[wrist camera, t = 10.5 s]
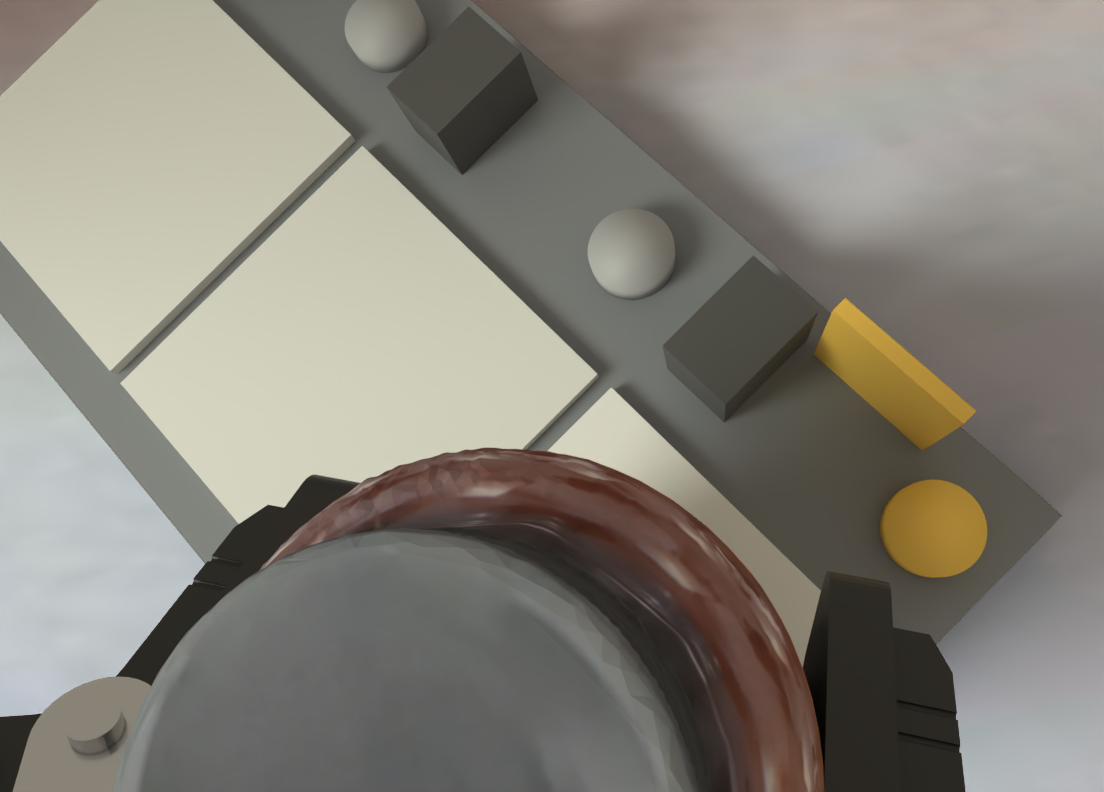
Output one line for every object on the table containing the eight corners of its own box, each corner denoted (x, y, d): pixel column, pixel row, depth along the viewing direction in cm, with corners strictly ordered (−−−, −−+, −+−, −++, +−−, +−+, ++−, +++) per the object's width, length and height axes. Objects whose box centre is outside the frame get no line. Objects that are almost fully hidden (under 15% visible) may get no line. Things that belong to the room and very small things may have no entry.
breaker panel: (-59, 213, 25) (-219, 136, 21) (298, -134, 25) (213, -280, 21) (580, 985, 19) (542, 1102, 15) (1041, 519, 19) (1134, 501, 15)
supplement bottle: (640, 446, 18) (520, 202, 7) (850, 729, 16) (1144, 1022, 5) (378, 636, 18) (-170, 705, 7) (560, 936, 16) (239, 1661, 5)
